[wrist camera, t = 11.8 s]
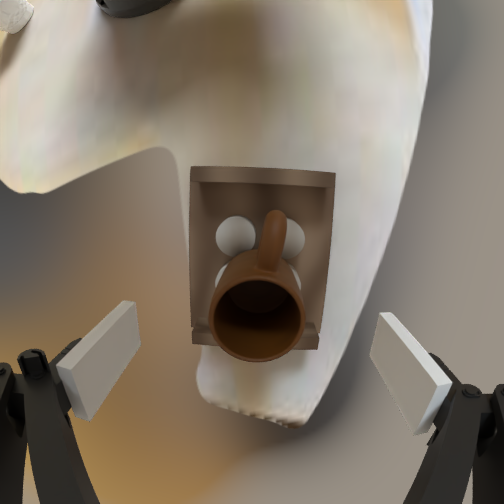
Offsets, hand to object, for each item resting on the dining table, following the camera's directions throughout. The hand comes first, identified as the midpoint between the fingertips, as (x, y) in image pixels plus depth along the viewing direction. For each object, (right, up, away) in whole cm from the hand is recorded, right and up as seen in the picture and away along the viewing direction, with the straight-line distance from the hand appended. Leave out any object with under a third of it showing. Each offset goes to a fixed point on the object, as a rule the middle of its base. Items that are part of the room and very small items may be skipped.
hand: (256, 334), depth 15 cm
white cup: (-44, +48, +11) cm, 66 cm away
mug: (+1, +3, +15) cm, 16 cm away
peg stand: (+1, +4, +19) cm, 20 cm away
